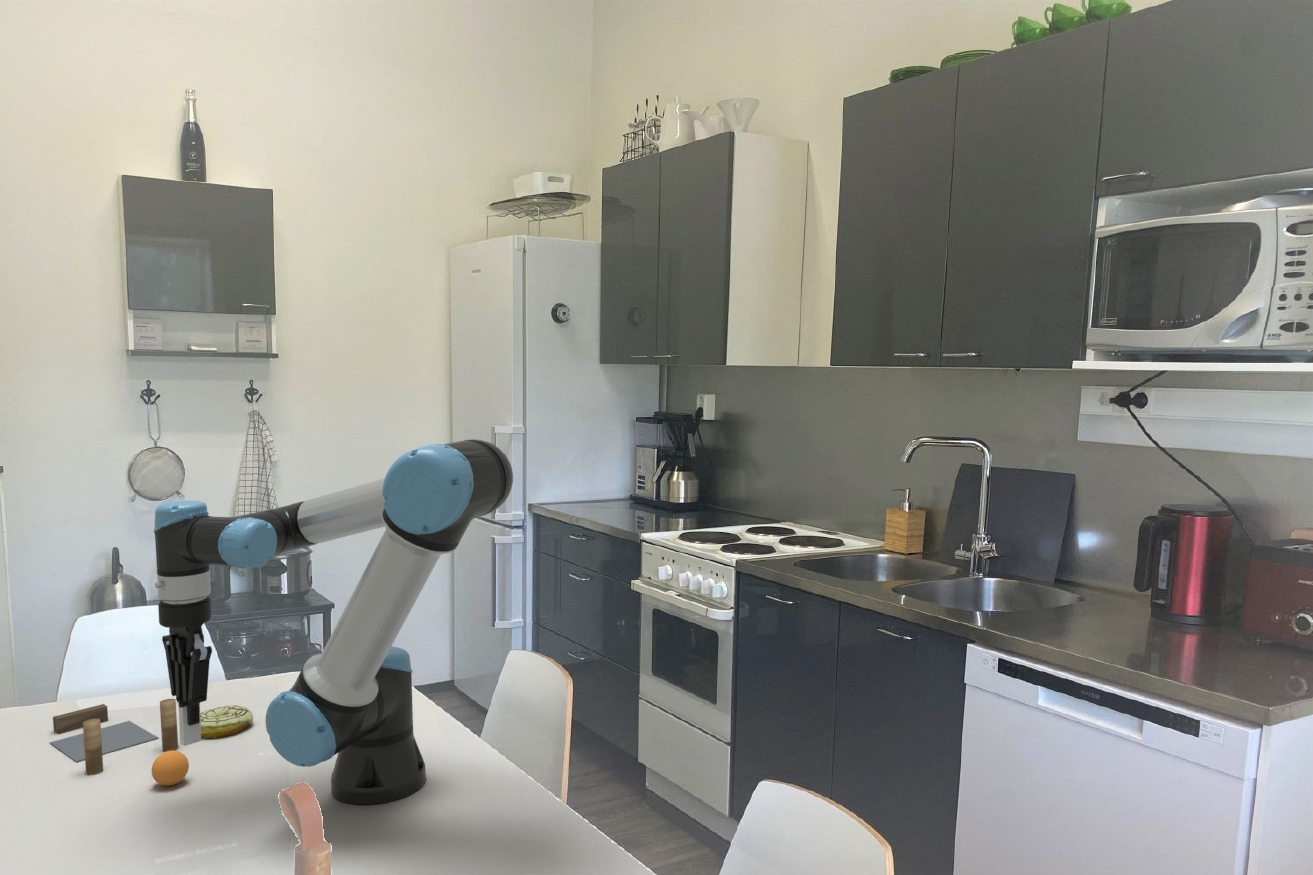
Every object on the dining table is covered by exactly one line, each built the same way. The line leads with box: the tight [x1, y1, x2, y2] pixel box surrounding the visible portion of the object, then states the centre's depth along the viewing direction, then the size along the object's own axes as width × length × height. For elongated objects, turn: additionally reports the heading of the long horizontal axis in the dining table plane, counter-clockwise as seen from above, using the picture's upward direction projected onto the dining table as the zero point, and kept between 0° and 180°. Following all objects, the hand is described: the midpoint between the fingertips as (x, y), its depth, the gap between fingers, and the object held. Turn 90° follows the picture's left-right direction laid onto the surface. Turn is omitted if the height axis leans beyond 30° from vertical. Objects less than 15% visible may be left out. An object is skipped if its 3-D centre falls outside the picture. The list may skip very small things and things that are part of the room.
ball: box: [151, 750, 190, 787], centre depth 160 cm, size 6×6×6 cm
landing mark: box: [49, 720, 159, 763], centre depth 180 cm, size 14×14×1 cm
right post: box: [159, 698, 179, 752], centre depth 175 cm, size 3×3×9 cm
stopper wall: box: [52, 703, 109, 735], centre depth 187 cm, size 2×9×3 cm, turn 139°
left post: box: [82, 719, 104, 776], centre depth 165 cm, size 3×3×9 cm
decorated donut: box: [200, 704, 254, 739], centre depth 184 cm, size 10×11×4 cm
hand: (190, 741), depth 153 cm, fingers closed
